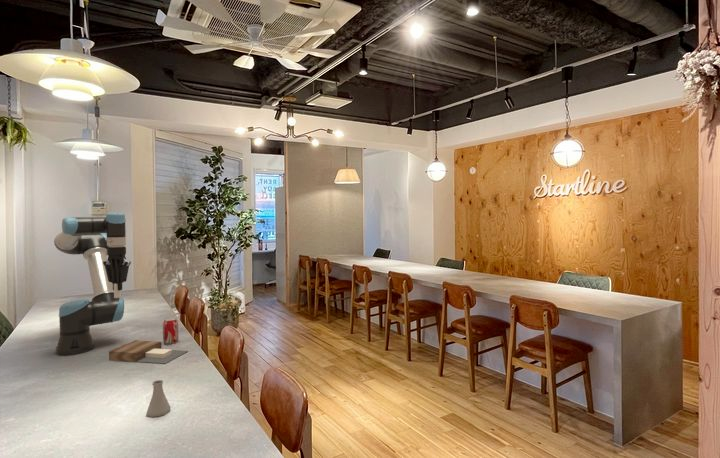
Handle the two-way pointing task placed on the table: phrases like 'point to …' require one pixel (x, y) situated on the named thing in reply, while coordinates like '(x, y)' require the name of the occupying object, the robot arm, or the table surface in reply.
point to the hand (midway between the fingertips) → (117, 297)
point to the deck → (133, 350)
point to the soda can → (170, 330)
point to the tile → (158, 353)
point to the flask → (158, 401)
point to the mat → (165, 360)
